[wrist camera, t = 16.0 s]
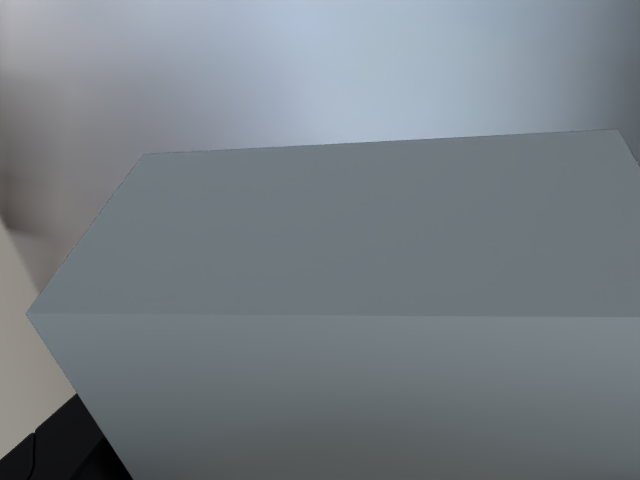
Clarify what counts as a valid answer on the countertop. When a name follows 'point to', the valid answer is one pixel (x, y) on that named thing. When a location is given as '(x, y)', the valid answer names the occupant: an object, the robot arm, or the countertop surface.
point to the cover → (363, 311)
